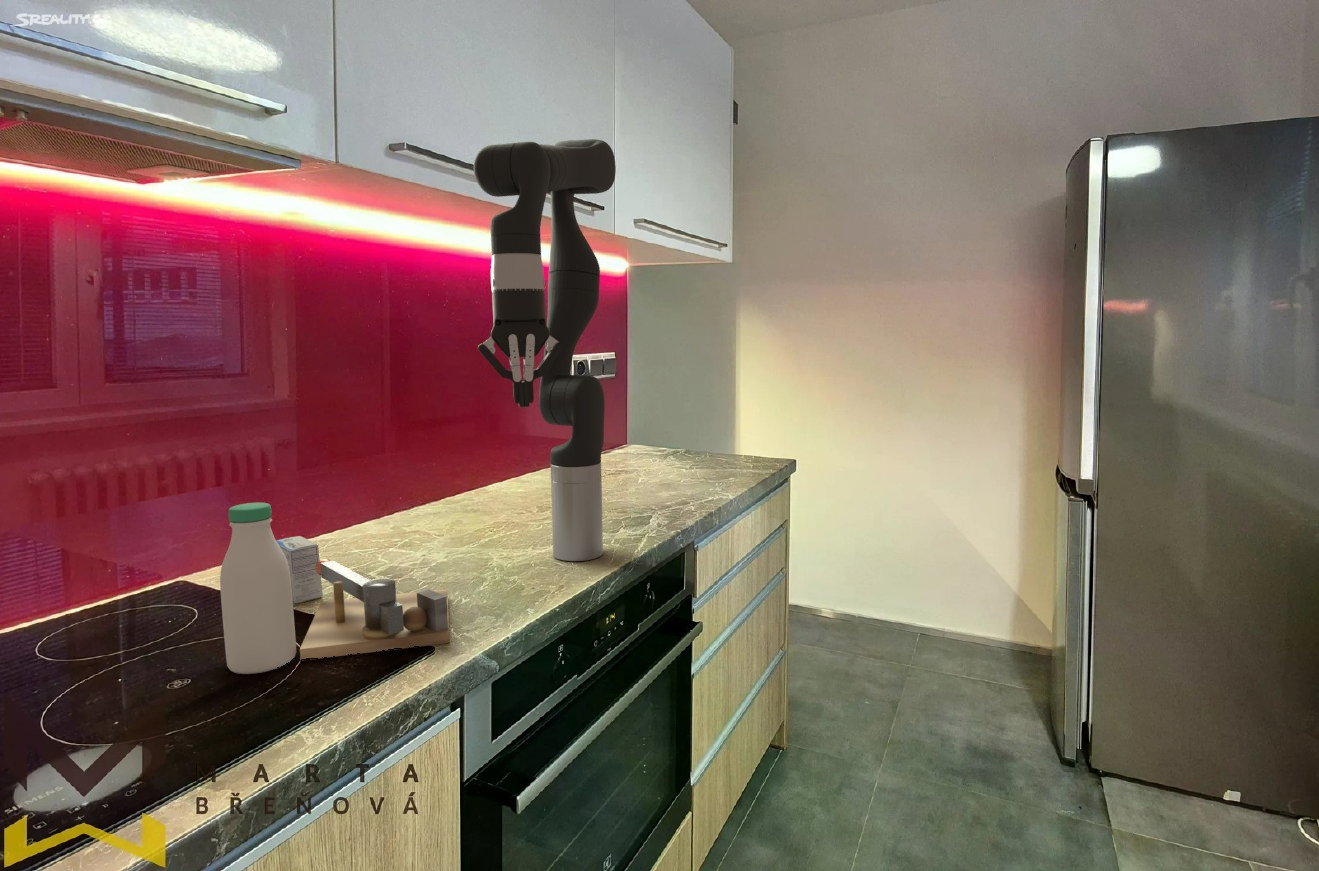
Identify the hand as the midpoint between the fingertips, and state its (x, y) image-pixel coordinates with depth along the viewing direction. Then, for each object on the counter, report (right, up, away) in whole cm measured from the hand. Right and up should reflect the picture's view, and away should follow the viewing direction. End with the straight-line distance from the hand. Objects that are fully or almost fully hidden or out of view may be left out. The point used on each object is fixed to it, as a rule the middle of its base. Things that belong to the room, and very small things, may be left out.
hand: (523, 406), depth 111 cm
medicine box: (-37, -30, +8) cm, 48 cm away
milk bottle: (-30, -33, -17) cm, 47 cm away
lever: (-22, -28, -6) cm, 37 cm away
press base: (-19, -31, -6) cm, 37 cm away
